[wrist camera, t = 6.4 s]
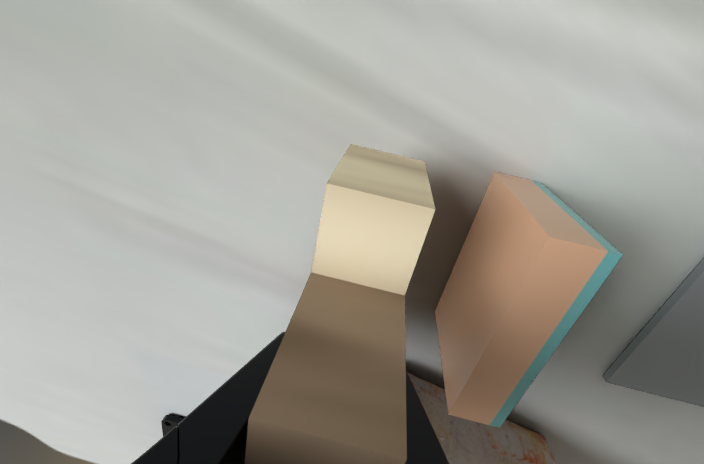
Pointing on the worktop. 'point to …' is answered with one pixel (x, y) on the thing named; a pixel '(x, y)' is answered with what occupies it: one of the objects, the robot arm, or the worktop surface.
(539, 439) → the food item
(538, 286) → the tile
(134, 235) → the worktop surface
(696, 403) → the pad
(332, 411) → the cream brown stepped block
